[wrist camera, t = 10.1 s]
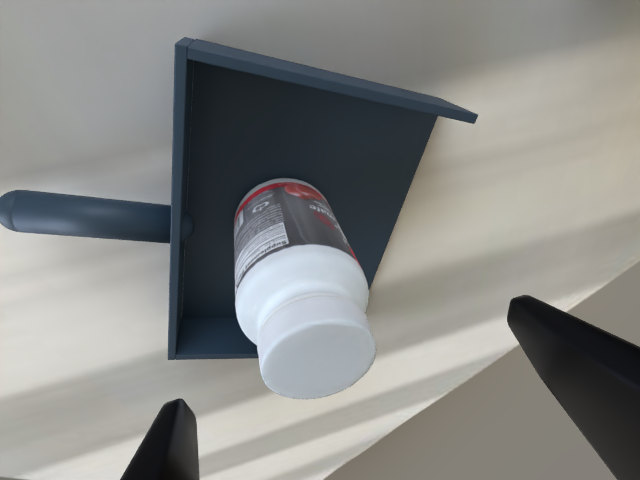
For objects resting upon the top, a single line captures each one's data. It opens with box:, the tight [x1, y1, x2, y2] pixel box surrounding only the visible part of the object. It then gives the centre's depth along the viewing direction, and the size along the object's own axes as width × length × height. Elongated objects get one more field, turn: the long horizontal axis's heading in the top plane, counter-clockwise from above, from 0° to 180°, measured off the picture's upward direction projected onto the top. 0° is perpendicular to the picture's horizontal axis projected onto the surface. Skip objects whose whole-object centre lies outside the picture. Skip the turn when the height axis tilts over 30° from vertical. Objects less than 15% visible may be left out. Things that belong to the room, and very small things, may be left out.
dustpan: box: [0, 37, 478, 360], centre depth 18 cm, size 19×16×3 cm
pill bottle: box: [234, 178, 376, 399], centre depth 16 cm, size 5×5×10 cm
